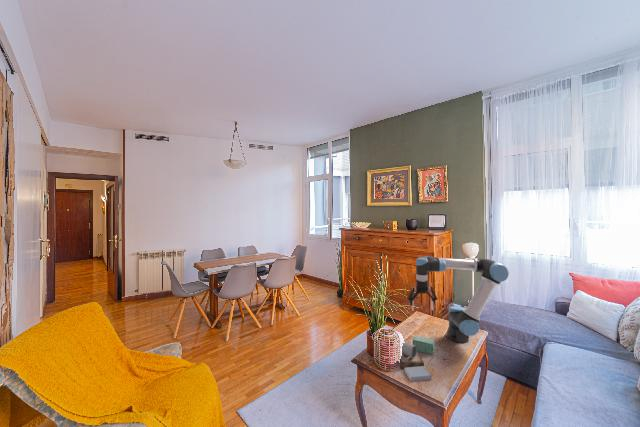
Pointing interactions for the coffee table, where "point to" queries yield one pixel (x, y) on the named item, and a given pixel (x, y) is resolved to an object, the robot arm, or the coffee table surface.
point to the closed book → (417, 373)
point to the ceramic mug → (409, 351)
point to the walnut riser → (411, 361)
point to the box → (424, 344)
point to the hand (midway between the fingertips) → (422, 309)
